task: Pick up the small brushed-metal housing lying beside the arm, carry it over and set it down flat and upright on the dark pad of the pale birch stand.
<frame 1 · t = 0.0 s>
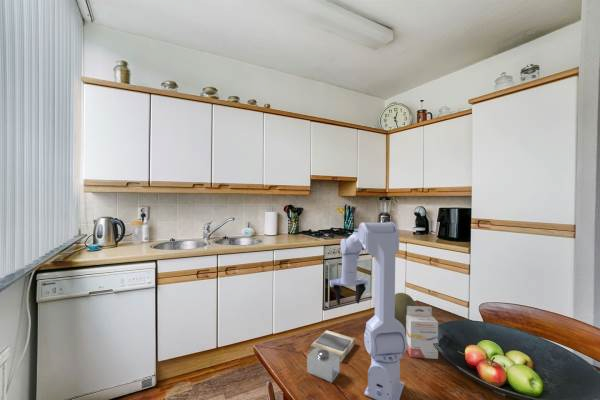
hand: (347, 302, 100), 11 cm above the table, tool pointing down, fingers open, 7 cm apart
housing: (323, 372, 75), on the table
fruit: (402, 333, 97), on the table
stand: (333, 347, 87), on the table
ink cartridge box: (421, 354, 83), on the table
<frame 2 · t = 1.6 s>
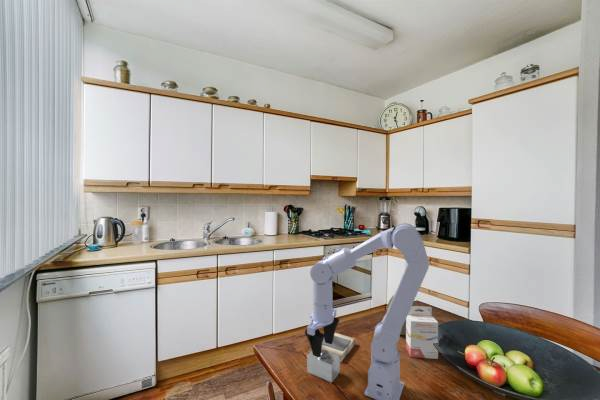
hand: (322, 349, 75), 7 cm above the table, tool pointing down, fingers open, 7 cm apart
nothing on the table moved.
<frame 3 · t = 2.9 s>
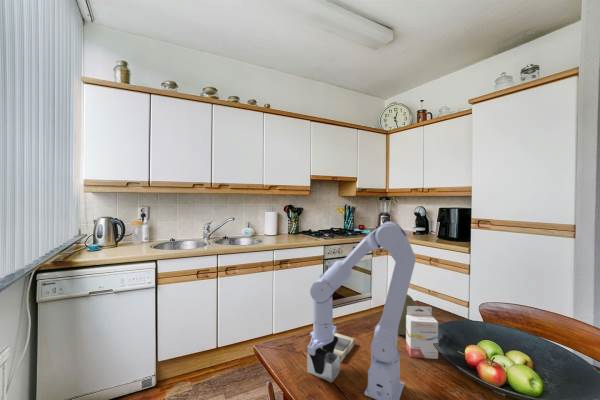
hand: (323, 367, 75), 1 cm above the table, tool pointing down, fingers closed on housing, 5 cm apart
housing: (323, 372, 75), on the table, touching gripper
everything else where it was.
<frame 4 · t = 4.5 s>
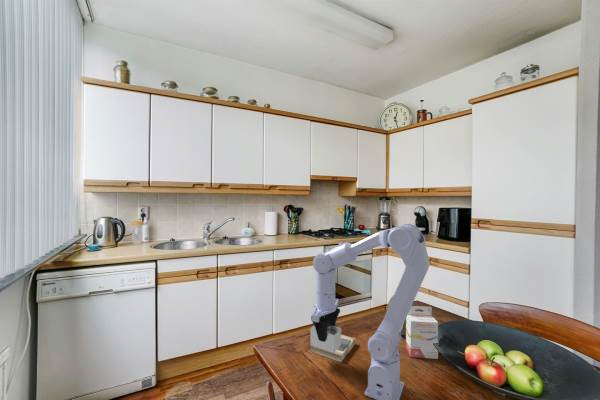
hand: (326, 336, 79), 8 cm above the table, tool pointing down, fingers closed on housing, 5 cm apart
housing: (325, 344, 79), point 6 cm above the table, touching gripper
everything else where it was.
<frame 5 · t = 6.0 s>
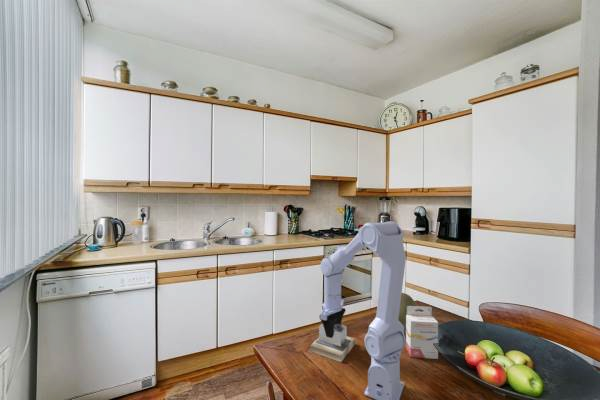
hand: (333, 333, 87), 5 cm above the table, tool pointing down, fingers closed on housing, 5 cm apart
housing: (332, 340, 87), point 2 cm above the table, touching gripper, stand
everything else where it was.
when the fingers open (5 cm above the table, at t = 6.8 s): housing stays where it is, resting on stand.
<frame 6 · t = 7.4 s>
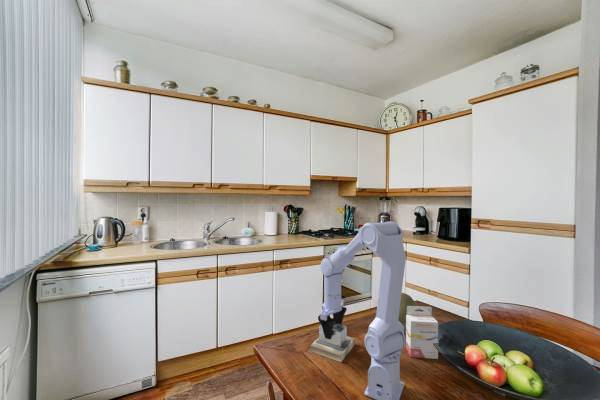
hand: (333, 333, 87), 5 cm above the table, tool pointing down, fingers open, 7 cm apart
housing: (332, 340, 87), point 2 cm above the table, touching stand
everything else where it was.
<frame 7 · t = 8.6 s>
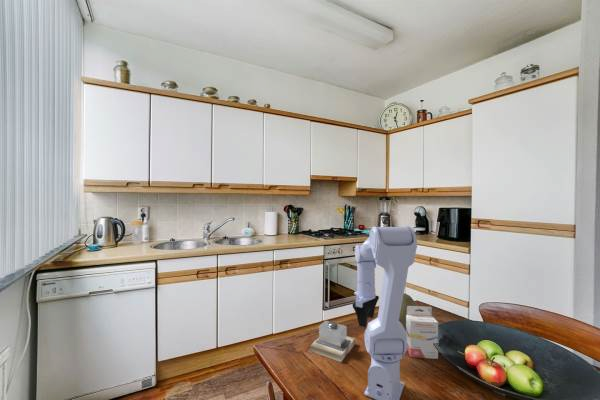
hand: (366, 321, 86), 9 cm above the table, tool pointing down, fingers open, 7 cm apart
nothing on the table moved.
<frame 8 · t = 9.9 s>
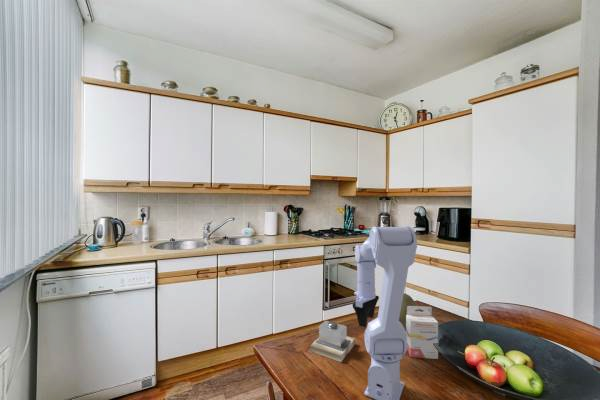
hand: (366, 321, 86), 9 cm above the table, tool pointing down, fingers open, 7 cm apart
nothing on the table moved.
at the end: housing 0.1 cm off-centre on the stand, point 2.3 cm above the stand's base; housing tilted 0°; the gripper is holding nothing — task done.
